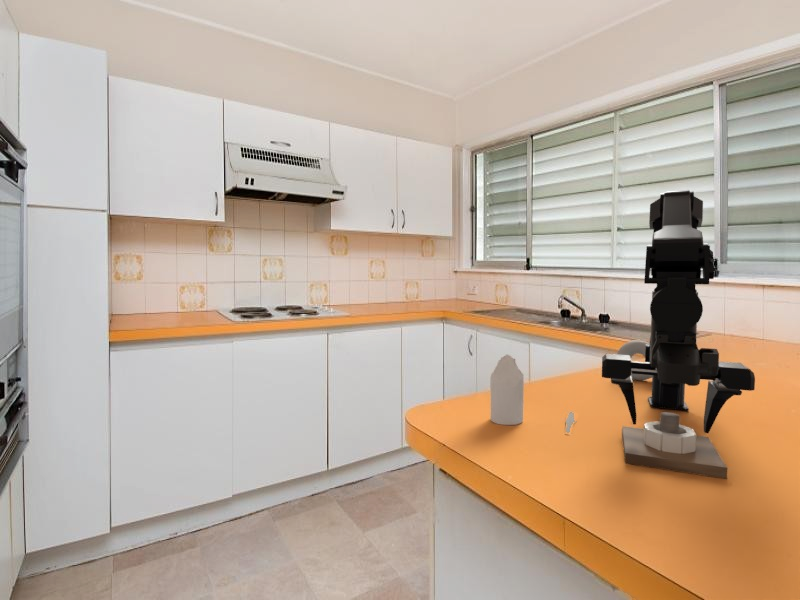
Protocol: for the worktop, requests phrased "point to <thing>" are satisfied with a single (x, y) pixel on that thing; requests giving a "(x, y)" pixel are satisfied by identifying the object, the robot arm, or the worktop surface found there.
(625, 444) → the peg stand
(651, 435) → the ring
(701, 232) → the robot arm
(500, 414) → the grey bullet shape
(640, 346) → the donut
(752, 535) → the worktop surface
